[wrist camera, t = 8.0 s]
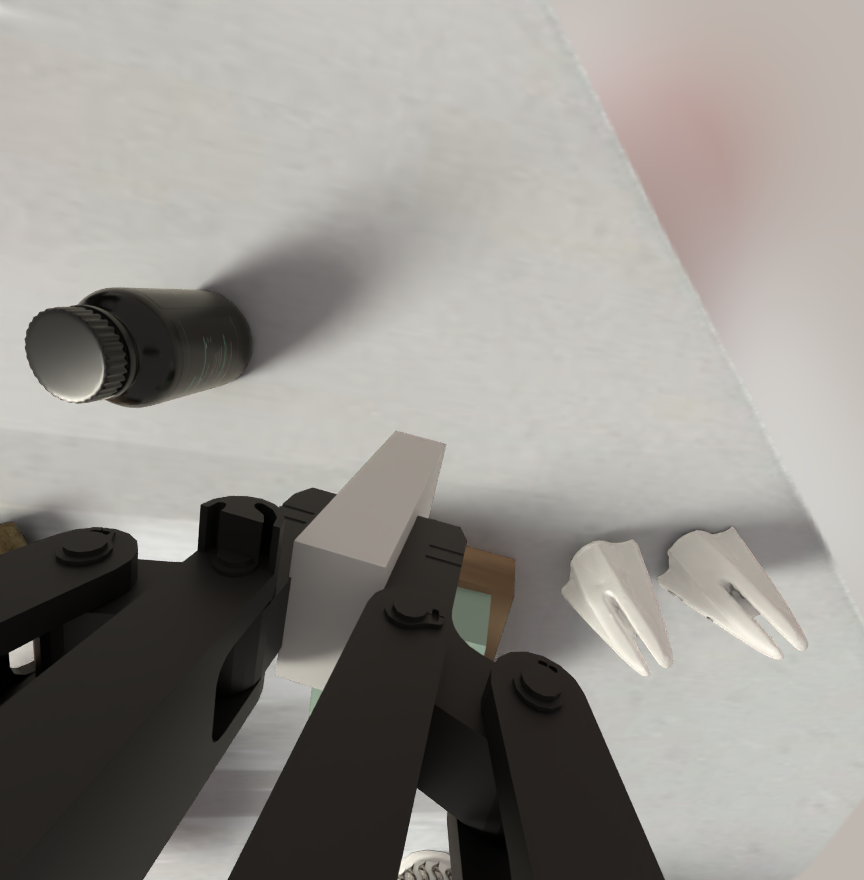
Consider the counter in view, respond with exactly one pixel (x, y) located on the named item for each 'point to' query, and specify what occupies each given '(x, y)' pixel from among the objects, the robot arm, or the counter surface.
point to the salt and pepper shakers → (677, 594)
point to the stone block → (10, 538)
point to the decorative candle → (425, 866)
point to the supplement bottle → (138, 346)
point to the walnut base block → (490, 588)
